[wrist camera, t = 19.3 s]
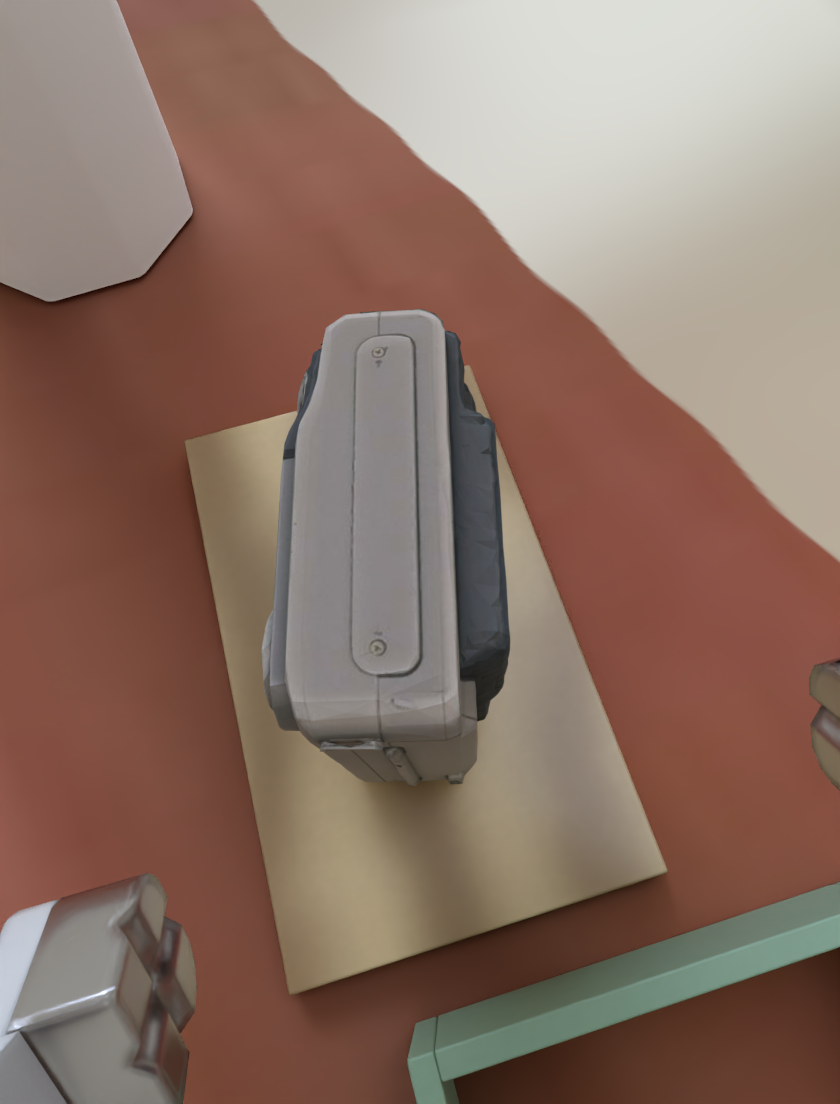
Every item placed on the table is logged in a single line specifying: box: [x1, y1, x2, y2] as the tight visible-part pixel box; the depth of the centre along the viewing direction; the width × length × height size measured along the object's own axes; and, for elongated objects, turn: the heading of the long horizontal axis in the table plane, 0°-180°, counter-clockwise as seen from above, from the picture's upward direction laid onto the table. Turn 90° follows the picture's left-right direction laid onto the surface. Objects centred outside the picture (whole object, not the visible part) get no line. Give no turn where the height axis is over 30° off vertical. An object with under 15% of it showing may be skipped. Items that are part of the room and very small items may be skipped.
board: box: [185, 365, 667, 995], centre depth 26 cm, size 12×20×1 cm, turn 16°
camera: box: [261, 309, 510, 786], centre depth 21 cm, size 11×6×10 cm, turn 179°
